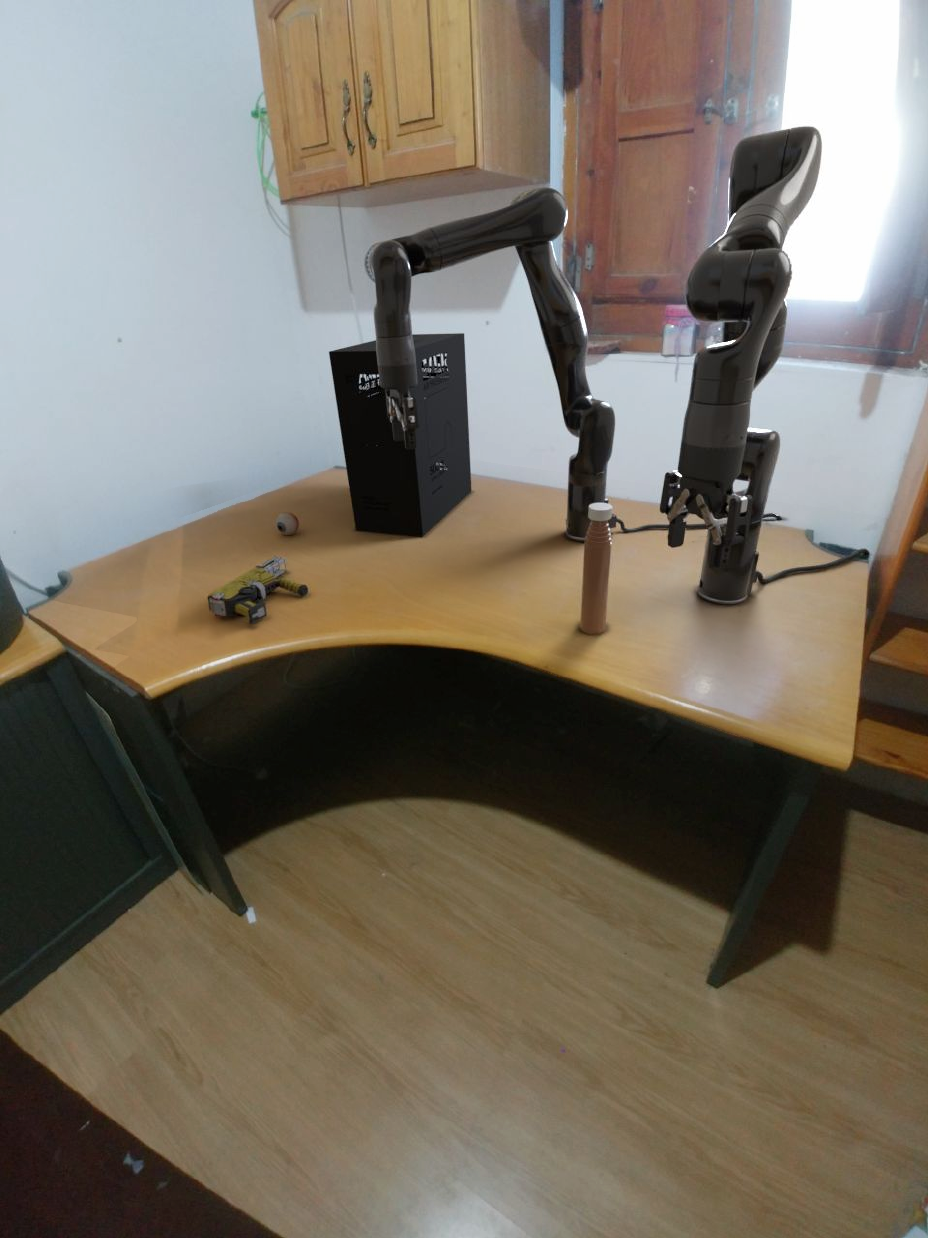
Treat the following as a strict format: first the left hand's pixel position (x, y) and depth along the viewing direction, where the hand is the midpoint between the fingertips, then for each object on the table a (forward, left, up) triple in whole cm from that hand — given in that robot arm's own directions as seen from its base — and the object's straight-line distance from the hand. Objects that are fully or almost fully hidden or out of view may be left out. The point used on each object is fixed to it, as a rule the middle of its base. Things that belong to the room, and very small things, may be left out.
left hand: (404, 444), depth 126 cm
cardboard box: (-13, -40, -29) cm, 51 cm away
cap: (-22, +40, -5) cm, 46 cm away
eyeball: (+24, -39, -29) cm, 55 cm away
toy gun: (+33, -2, -29) cm, 44 cm away
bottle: (-22, +40, -29) cm, 54 cm away
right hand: (-22, +64, -5) cm, 68 cm away
